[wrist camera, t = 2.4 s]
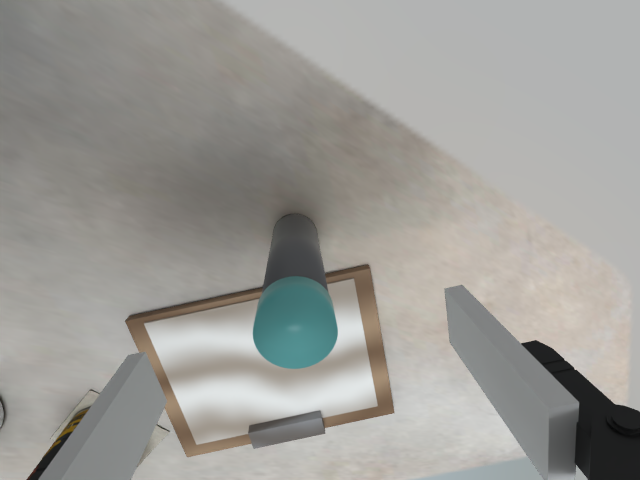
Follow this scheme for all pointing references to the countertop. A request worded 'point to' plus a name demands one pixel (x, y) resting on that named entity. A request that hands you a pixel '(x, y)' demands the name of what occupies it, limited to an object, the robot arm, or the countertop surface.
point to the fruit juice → (1, 414)
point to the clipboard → (263, 370)
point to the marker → (295, 299)
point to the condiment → (77, 416)
